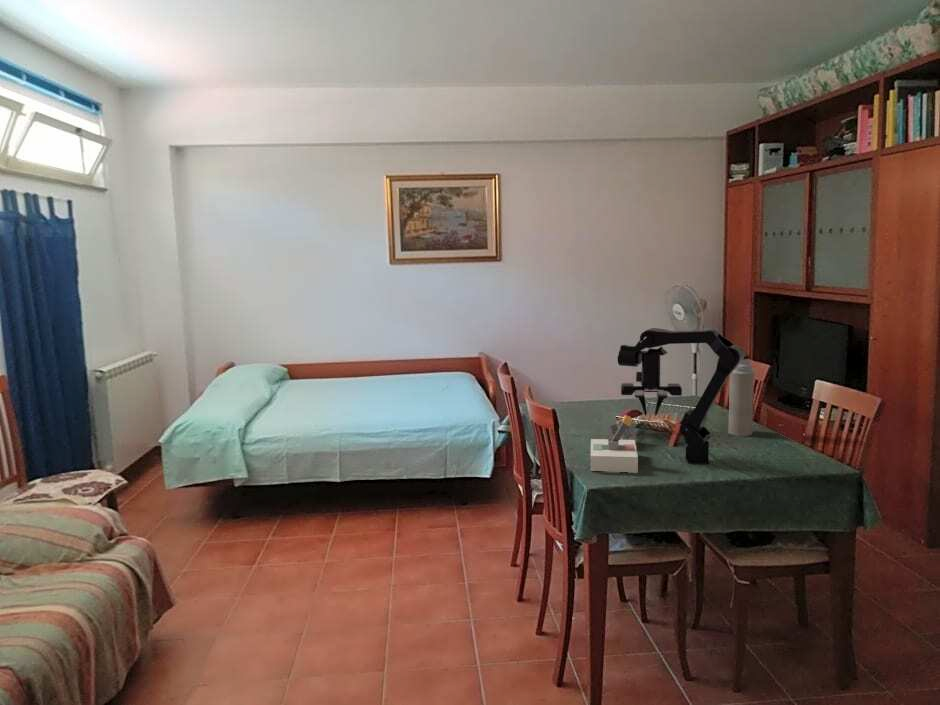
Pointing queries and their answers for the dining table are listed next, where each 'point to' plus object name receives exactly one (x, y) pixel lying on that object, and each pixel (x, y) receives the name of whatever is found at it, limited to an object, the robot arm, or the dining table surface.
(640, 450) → the dining table surface
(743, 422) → the thermos bottle
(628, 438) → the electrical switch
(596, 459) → the breaker housing
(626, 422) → the breaker lever
